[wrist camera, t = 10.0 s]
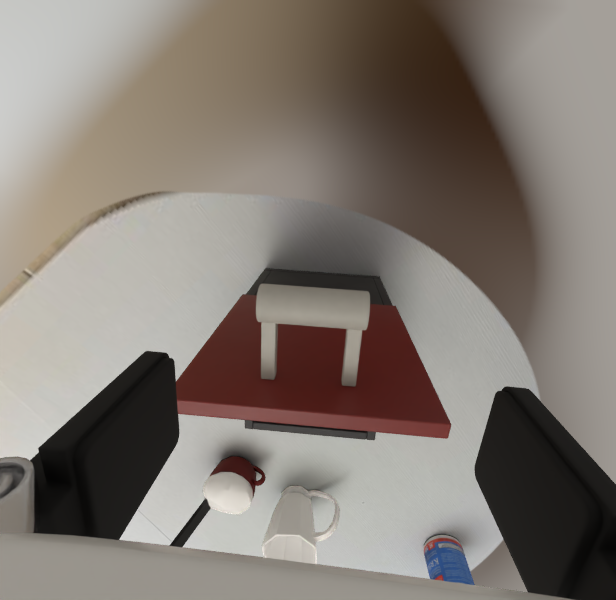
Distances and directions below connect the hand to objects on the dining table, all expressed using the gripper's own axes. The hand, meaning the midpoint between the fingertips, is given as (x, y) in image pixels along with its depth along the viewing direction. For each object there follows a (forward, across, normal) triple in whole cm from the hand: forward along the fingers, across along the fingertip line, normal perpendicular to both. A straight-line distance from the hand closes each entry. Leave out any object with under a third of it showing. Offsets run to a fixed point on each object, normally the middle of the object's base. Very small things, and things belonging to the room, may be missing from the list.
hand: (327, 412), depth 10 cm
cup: (+29, +1, +36) cm, 46 cm away
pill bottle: (+29, -19, +43) cm, 56 cm away
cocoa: (+29, +11, +32) cm, 45 cm away
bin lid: (+11, +1, +4) cm, 12 cm away
